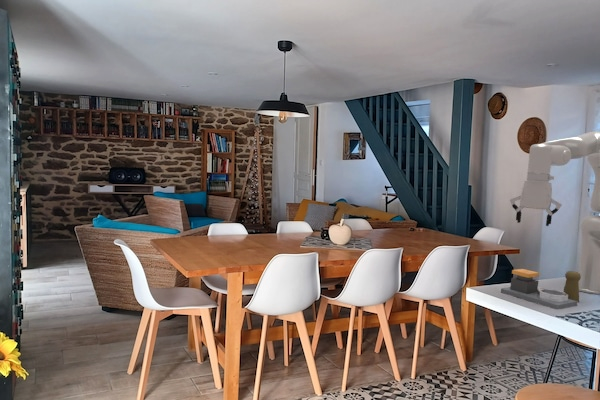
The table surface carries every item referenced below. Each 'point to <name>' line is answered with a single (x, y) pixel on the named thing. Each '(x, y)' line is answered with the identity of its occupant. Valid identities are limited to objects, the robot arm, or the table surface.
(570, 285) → the cork
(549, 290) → the ring
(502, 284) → the table surface
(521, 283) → the grey base plate
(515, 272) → the button
